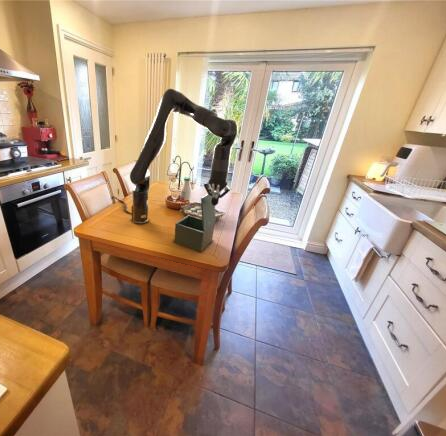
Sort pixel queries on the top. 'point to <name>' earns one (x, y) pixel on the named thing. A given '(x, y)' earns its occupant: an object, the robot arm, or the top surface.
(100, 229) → the top surface
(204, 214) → the bin lid
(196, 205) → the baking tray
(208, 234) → the bin
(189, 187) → the milk bottle
